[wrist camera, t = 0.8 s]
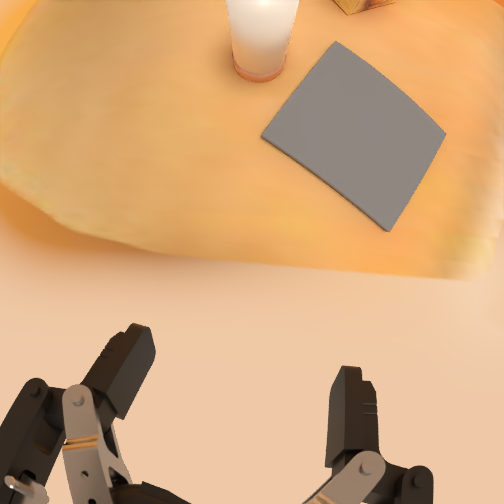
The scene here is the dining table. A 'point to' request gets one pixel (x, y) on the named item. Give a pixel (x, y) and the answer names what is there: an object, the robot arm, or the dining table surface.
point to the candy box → (360, 5)
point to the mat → (357, 134)
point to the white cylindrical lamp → (260, 36)
